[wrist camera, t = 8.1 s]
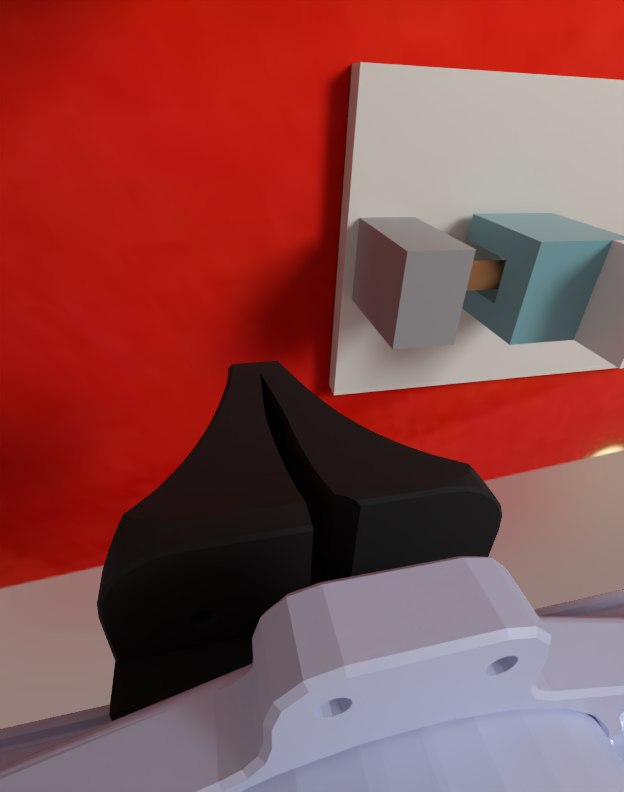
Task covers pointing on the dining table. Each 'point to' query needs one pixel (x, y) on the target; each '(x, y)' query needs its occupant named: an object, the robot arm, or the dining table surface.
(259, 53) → the dining table surface
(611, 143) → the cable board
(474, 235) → the slider block
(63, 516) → the dining table surface
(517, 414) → the dining table surface
